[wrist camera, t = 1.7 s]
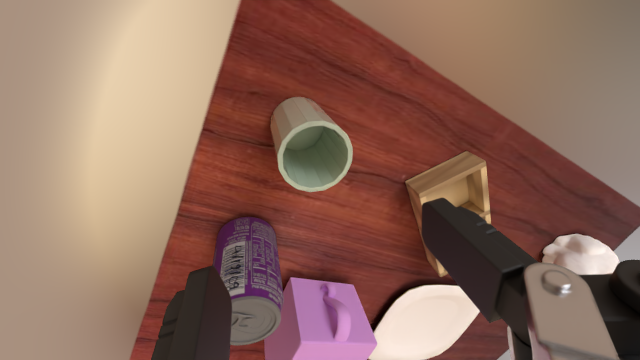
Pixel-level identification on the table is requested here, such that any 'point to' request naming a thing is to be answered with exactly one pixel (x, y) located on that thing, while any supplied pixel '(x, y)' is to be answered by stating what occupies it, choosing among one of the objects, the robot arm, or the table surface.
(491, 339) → the table surface
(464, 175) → the holder
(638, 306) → the robot arm
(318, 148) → the cup
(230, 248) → the beverage can
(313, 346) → the teapot
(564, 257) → the rabbit
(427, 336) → the plate
